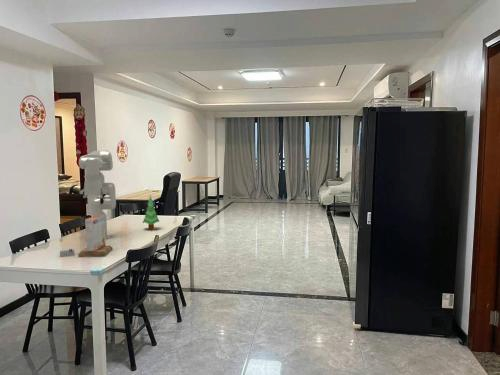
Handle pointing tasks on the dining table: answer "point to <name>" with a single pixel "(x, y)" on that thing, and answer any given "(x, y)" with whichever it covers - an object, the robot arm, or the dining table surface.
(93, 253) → the plinth
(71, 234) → the dining table surface
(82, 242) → the dining table surface
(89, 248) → the cracker box
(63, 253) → the bracket
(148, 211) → the decorative tree
